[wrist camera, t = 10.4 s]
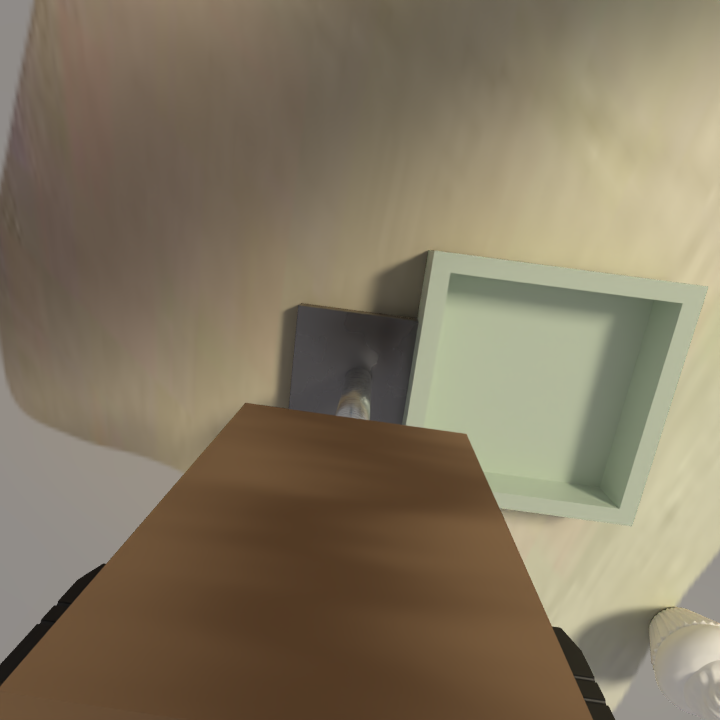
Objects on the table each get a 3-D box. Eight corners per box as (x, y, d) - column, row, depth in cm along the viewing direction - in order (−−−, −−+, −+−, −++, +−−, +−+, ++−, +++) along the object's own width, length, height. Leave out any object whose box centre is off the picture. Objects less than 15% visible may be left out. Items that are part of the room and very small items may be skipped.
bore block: (466, 433, 12) (621, 784, 4) (429, 615, 13) (491, 1117, 6) (245, 402, 12) (-4, 690, 4) (233, 586, 14) (34, 1044, 6)
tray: (670, 282, 25) (708, 286, 23) (606, 498, 29) (631, 526, 26) (428, 250, 26) (434, 250, 23) (393, 469, 29) (394, 493, 26)
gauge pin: (433, 320, 27) (460, 356, 18) (412, 443, 28) (428, 529, 20) (301, 303, 27) (263, 329, 18) (289, 426, 29) (250, 504, 20)
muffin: (737, 620, 31) (839, 725, 24) (671, 675, 32) (749, 789, 25) (673, 572, 30) (759, 667, 23) (607, 630, 31) (671, 736, 25)
